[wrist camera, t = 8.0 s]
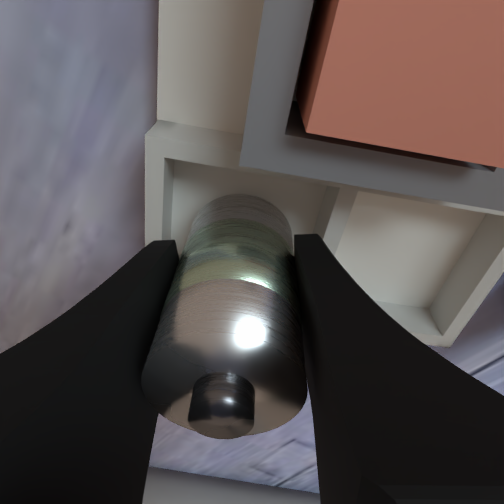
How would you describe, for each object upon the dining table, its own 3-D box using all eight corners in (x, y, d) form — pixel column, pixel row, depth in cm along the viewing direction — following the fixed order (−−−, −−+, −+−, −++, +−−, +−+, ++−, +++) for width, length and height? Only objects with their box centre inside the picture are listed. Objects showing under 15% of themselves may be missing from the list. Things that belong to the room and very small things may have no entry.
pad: (532, -74, 7) (672, -113, 5) (442, 123, 9) (505, 168, 7) (343, -118, 7) (384, -181, 4) (295, 95, 9) (305, 132, 7)
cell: (312, 219, 11) (348, 399, 6) (264, 292, 13) (262, 478, 8) (212, 175, 10) (160, 337, 5) (176, 259, 12) (112, 440, 7)
